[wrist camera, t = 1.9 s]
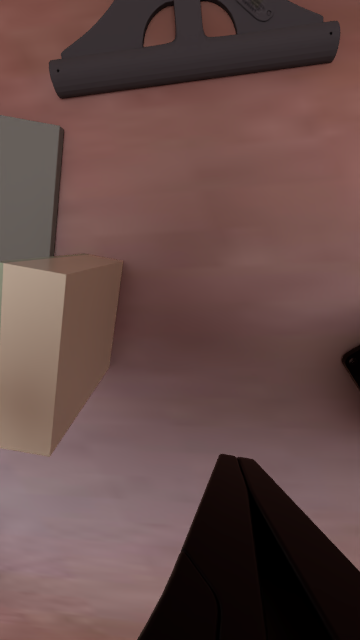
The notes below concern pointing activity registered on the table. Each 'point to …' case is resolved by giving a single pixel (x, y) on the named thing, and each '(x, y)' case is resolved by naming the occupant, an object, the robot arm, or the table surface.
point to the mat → (28, 187)
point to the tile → (52, 343)
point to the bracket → (191, 45)
